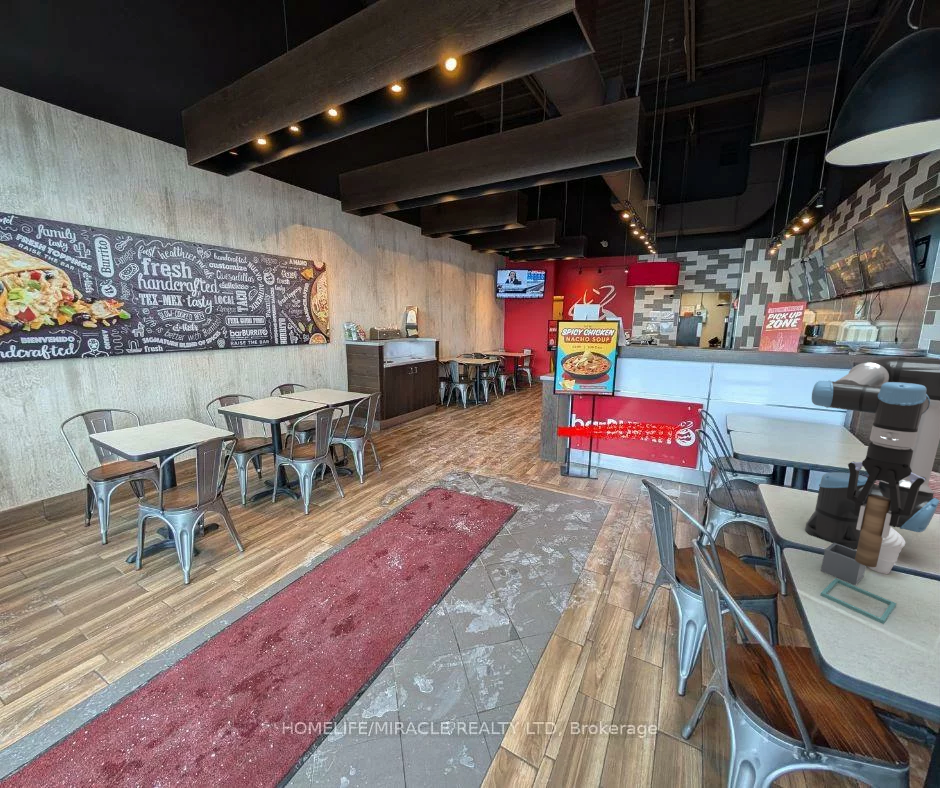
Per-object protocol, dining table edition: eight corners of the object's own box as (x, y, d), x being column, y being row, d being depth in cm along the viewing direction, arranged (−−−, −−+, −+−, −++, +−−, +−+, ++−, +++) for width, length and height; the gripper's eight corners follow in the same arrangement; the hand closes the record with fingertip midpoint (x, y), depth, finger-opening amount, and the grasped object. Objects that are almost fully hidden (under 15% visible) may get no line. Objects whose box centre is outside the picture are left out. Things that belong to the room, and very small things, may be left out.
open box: (828, 566, 119) (833, 542, 118) (862, 579, 113) (868, 554, 111) (820, 573, 115) (824, 549, 114) (854, 588, 109) (860, 562, 107)
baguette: (857, 556, 103) (870, 493, 100) (878, 564, 100) (892, 499, 97) (852, 561, 101) (866, 496, 98) (874, 569, 98) (888, 502, 95)
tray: (834, 583, 111) (835, 577, 110) (895, 609, 101) (896, 603, 100) (819, 598, 104) (820, 592, 104) (882, 627, 94) (884, 621, 94)
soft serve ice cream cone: (906, 582, 112) (918, 531, 109) (872, 578, 113) (883, 528, 111) (882, 565, 120) (892, 517, 117) (850, 561, 122) (860, 514, 119)
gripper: (839, 438, 100) (824, 521, 104) (941, 457, 86) (918, 553, 90) (849, 434, 104) (833, 515, 108) (947, 452, 90) (925, 544, 94)
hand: (872, 532), depth 99 cm, fingers closed on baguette, 4 cm apart
